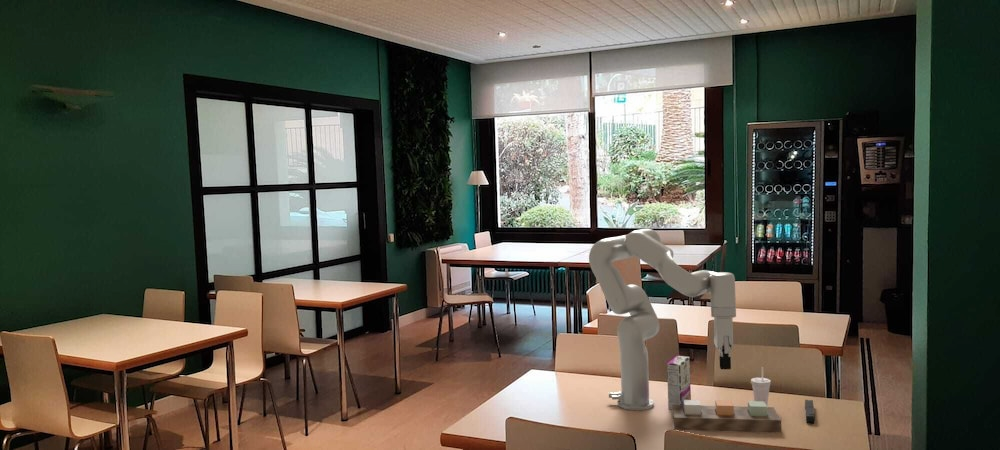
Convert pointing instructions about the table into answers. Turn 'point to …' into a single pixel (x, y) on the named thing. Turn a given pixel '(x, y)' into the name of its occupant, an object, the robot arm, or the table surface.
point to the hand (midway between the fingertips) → (725, 368)
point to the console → (726, 420)
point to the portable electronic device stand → (809, 412)
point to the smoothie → (761, 388)
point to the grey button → (692, 407)
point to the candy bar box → (678, 381)
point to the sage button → (757, 408)
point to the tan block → (724, 408)
